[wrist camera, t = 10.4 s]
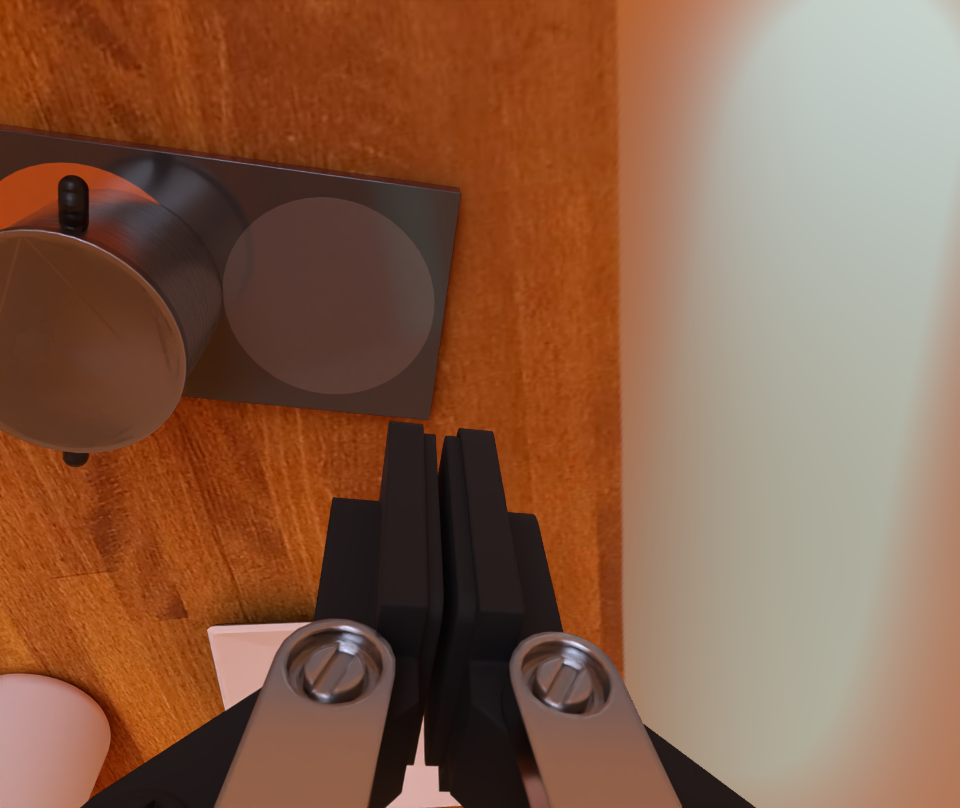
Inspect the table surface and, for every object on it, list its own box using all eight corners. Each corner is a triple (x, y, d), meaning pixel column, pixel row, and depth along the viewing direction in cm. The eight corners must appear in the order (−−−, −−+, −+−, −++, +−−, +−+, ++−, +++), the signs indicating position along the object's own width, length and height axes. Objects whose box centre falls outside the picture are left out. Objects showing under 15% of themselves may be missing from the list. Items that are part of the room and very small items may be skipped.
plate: (254, 793, 55) (248, 820, 53) (213, 604, 46) (205, 629, 44) (506, 779, 56) (509, 805, 54) (516, 593, 47) (519, 617, 45)
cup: (-38, 757, 51) (-132, 916, 42) (-52, 654, 46) (-162, 809, 38) (117, 770, 53) (56, 925, 44) (117, 671, 48) (50, 823, 39)
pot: (6, 119, 31) (-96, 152, 25) (239, 173, 33) (197, 215, 26) (19, 387, 37) (-61, 466, 31) (216, 420, 38) (177, 502, 32)
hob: (-54, 116, 32) (-68, 119, 31) (459, 187, 35) (460, 192, 34) (-9, 368, 37) (-19, 377, 36) (429, 411, 40) (429, 421, 39)
